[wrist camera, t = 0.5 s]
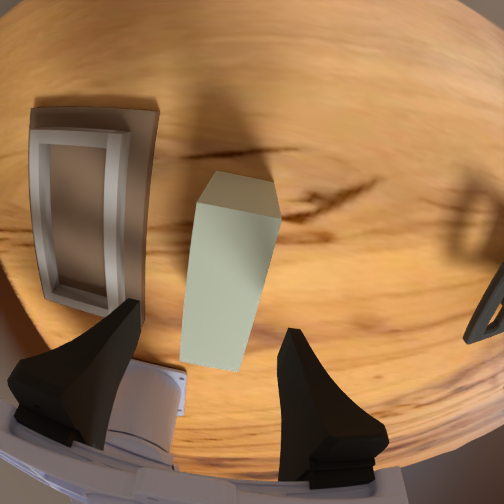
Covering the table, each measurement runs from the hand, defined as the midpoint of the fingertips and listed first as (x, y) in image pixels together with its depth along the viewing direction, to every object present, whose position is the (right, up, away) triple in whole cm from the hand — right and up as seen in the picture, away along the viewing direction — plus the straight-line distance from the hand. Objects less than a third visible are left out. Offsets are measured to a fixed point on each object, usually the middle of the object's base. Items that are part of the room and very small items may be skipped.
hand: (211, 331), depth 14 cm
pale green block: (0, +4, +9) cm, 10 cm away
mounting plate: (-11, +6, +7) cm, 15 cm away
